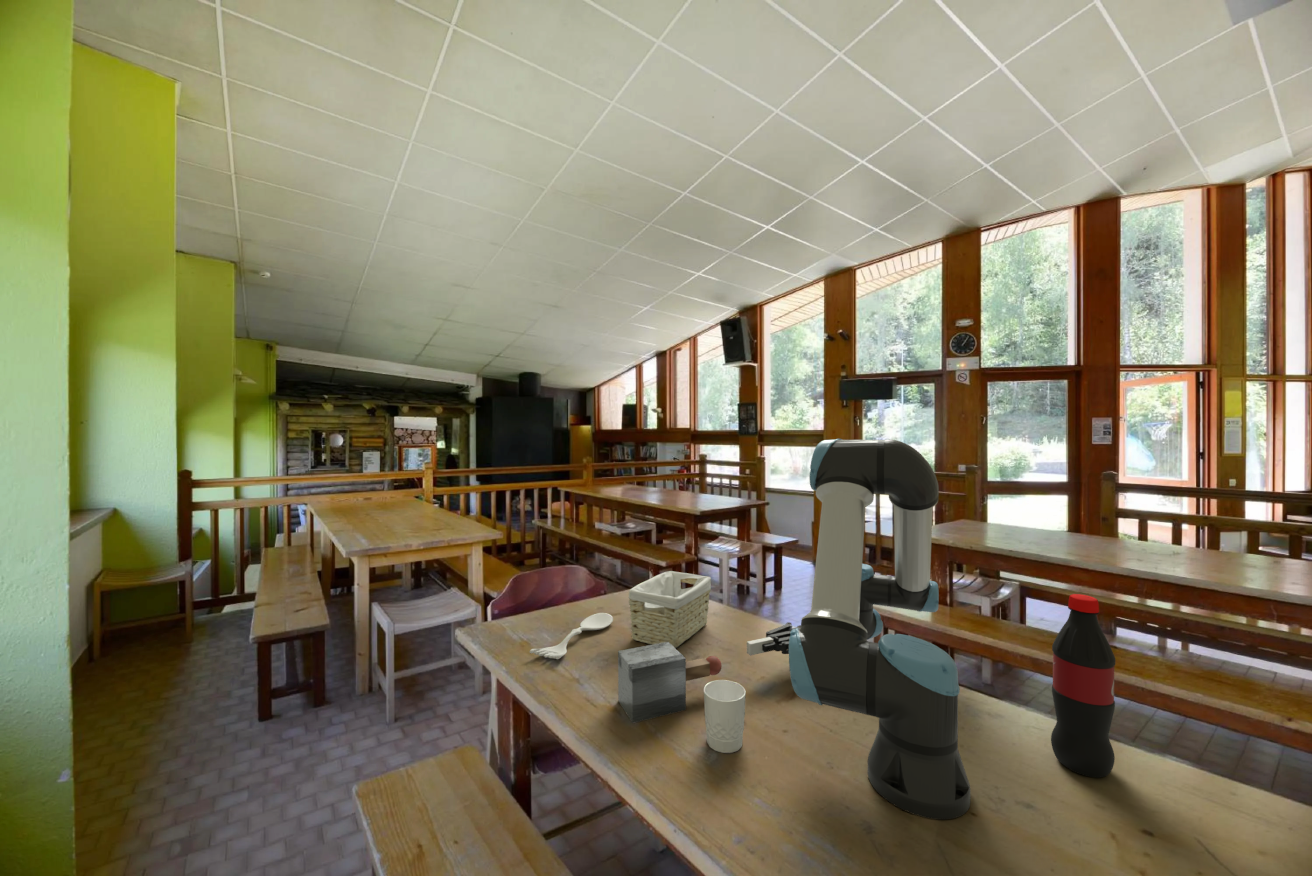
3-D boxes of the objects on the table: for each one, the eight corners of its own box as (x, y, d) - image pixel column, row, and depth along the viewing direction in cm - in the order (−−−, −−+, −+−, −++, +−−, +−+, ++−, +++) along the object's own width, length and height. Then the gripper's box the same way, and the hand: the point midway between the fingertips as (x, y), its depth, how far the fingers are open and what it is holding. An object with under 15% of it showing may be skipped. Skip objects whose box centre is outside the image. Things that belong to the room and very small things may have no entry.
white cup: (745, 758, 90) (745, 703, 90) (701, 752, 92) (701, 699, 91) (746, 732, 98) (746, 681, 98) (705, 727, 99) (705, 677, 99)
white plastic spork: (528, 662, 128) (528, 649, 128) (593, 618, 157) (593, 607, 157) (557, 669, 124) (557, 655, 124) (618, 623, 154) (618, 612, 154)
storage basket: (667, 614, 160) (666, 568, 160) (713, 624, 152) (713, 575, 152) (626, 642, 140) (625, 589, 139) (677, 654, 132) (677, 599, 131)
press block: (668, 689, 114) (668, 641, 114) (685, 710, 106) (685, 658, 105) (618, 700, 109) (618, 651, 109) (632, 723, 101) (632, 669, 101)
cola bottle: (1114, 765, 88) (1116, 595, 87) (1114, 790, 82) (1116, 608, 81) (1053, 744, 94) (1054, 585, 93) (1048, 767, 87) (1050, 596, 87)
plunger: (716, 668, 116) (716, 651, 116) (724, 676, 112) (724, 659, 112) (662, 680, 110) (662, 662, 110) (670, 689, 107) (670, 670, 107)
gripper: (846, 657, 120) (764, 677, 111) (810, 636, 132) (733, 652, 123) (846, 626, 120) (764, 644, 111) (810, 607, 132) (733, 622, 123)
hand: (748, 648), depth 117 cm, fingers closed
